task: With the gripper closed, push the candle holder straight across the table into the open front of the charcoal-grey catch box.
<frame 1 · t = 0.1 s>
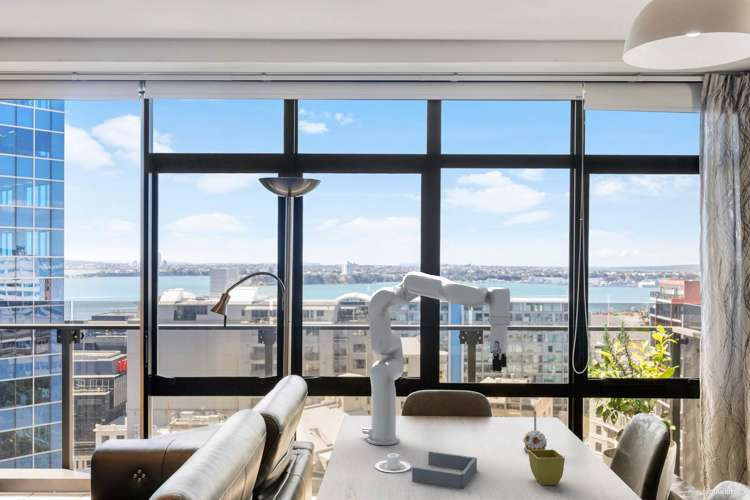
hand: (499, 368, 201), 31 cm above the table, tool pointing down, fingers open, 9 cm apart
flower pot: (546, 483, 175), on the table
candle holder: (392, 468, 187), on the table
catch box: (444, 474, 180), on the table
decorative ornament: (535, 452, 205), on the table
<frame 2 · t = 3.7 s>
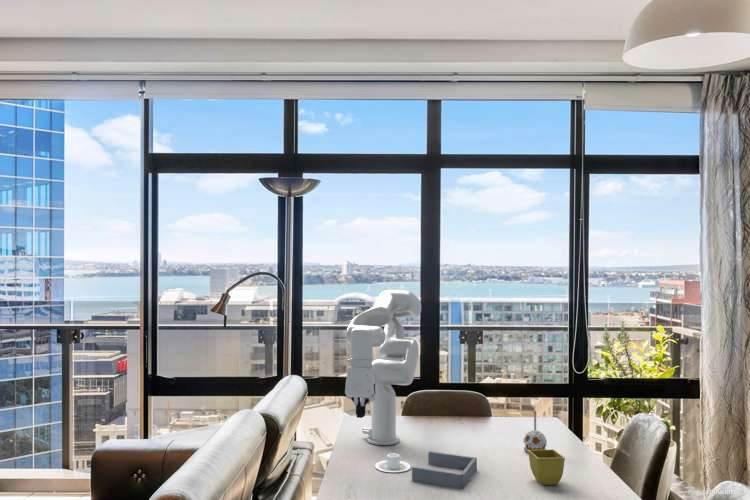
hand: (360, 416, 192), 15 cm above the table, tool pointing down, fingers closed
nothing on the table moved.
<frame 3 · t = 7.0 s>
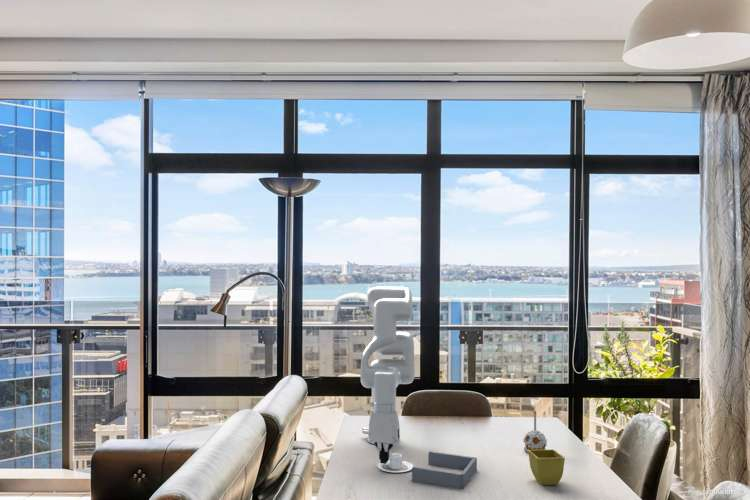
hand: (384, 462, 189), 1 cm above the table, tool pointing down, fingers closed
candle holder: (395, 468, 187), on the table, touching gripper
everything else where it was.
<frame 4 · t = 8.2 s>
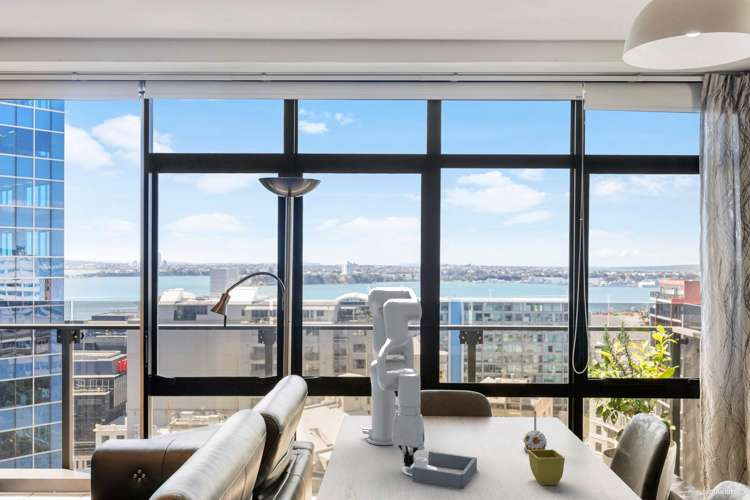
hand: (408, 465, 185), 1 cm above the table, tool pointing down, fingers closed
candle holder: (420, 473, 183), on the table, touching gripper
everything else where it was.
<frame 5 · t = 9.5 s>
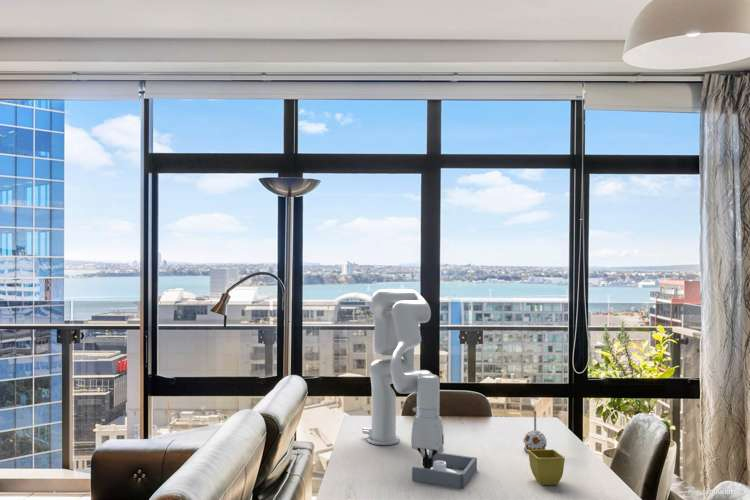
hand: (427, 468, 183), 1 cm above the table, tool pointing down, fingers closed
candle holder: (439, 476, 180), on the table, touching gripper
everything else where it was.
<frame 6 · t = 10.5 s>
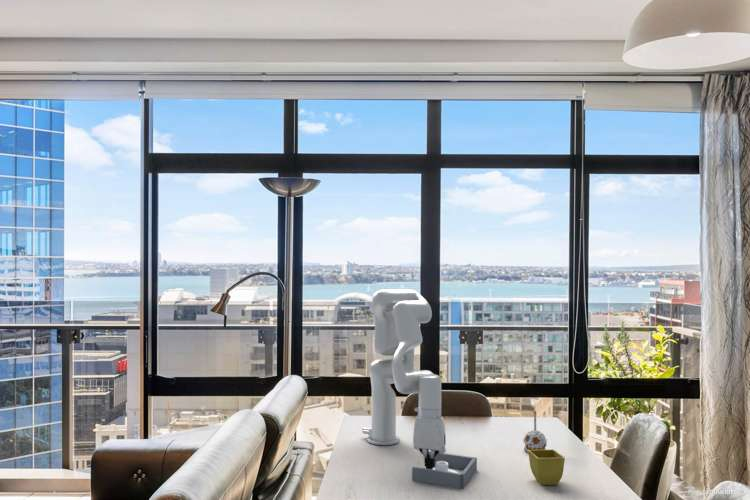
hand: (429, 469, 182), 1 cm above the table, tool pointing down, fingers closed
candle holder: (441, 477, 180), on the table
everything else where it was.
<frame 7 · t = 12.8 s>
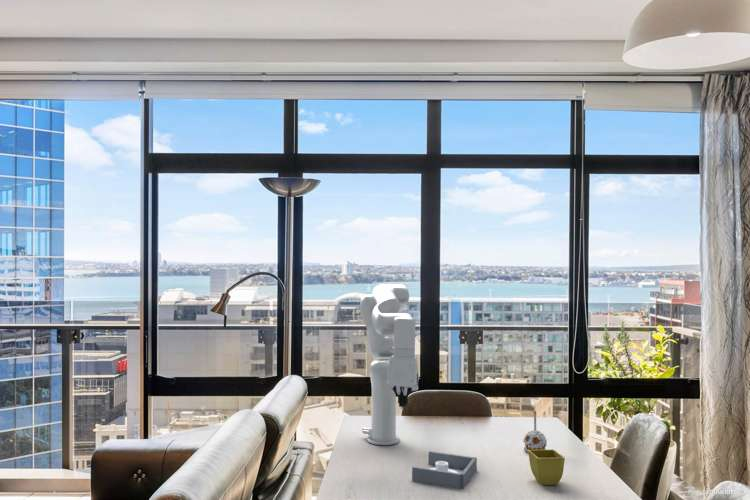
hand: (402, 405, 191), 20 cm above the table, tool pointing down, fingers closed
nothing on the table moved.
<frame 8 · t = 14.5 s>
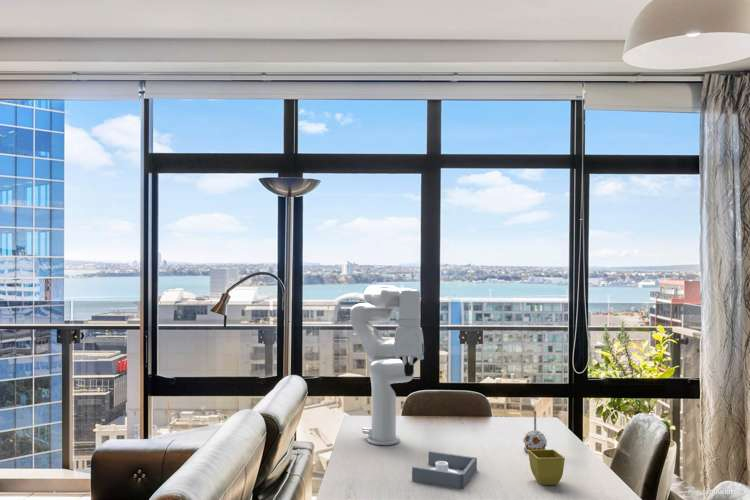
hand: (408, 375, 197), 29 cm above the table, tool pointing down, fingers closed
nothing on the table moved.
at the end: candle holder inside the target area on the catch box (2.0 cm from its centre), point -0.6 cm above the catch box's base; candle holder tilted 0°; candle holder moved 17.1 cm from its start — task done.
